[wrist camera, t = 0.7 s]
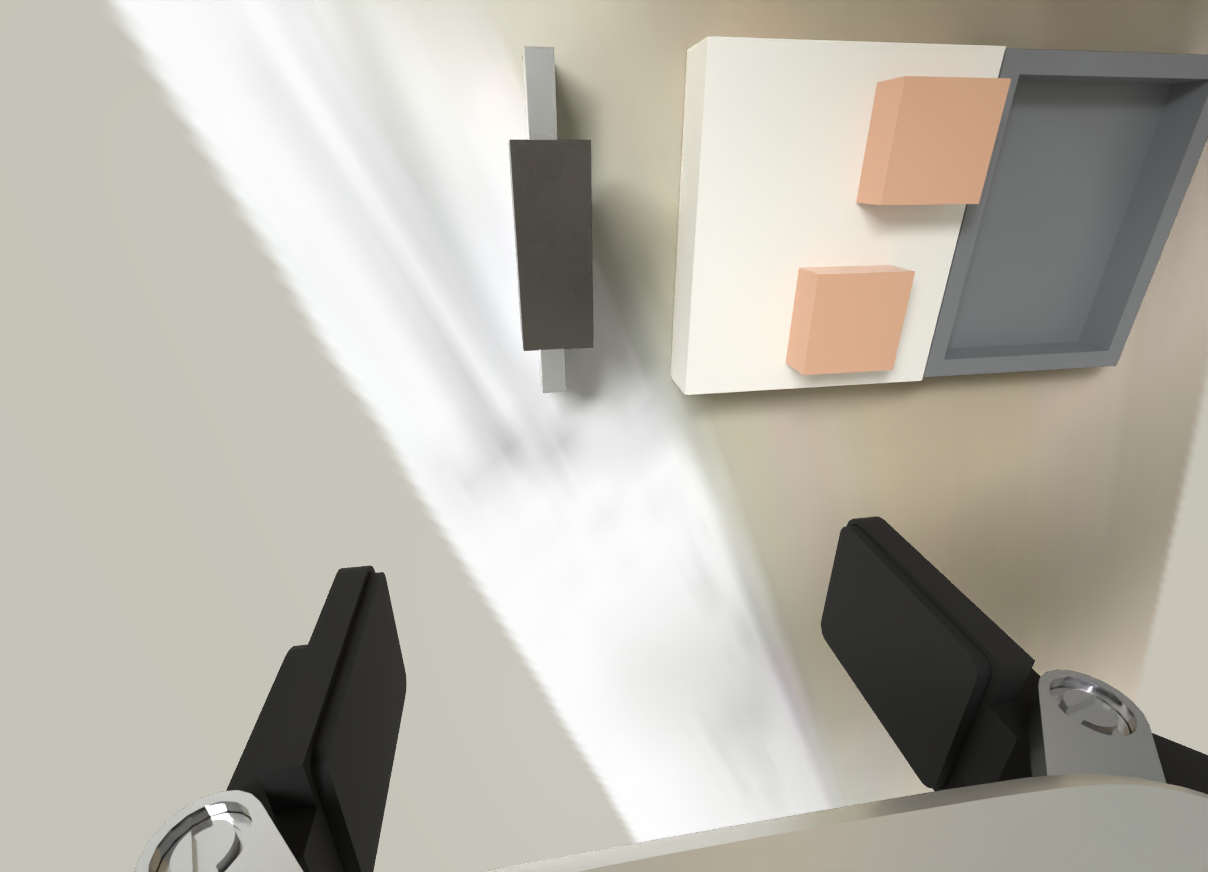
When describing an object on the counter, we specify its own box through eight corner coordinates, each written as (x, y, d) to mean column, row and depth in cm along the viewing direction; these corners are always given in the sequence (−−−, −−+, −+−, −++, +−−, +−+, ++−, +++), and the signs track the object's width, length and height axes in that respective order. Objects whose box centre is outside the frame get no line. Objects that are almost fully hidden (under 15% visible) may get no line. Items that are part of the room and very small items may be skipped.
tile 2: (877, 82, 26) (905, 76, 24) (976, 84, 26) (1011, 78, 25) (856, 202, 28) (880, 204, 26) (948, 201, 28) (978, 204, 27)
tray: (967, 57, 29) (1006, 48, 26) (1186, 63, 30) (1240, 55, 28) (897, 363, 35) (923, 377, 33) (1079, 353, 37) (1116, 365, 35)
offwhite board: (687, 49, 26) (708, 36, 24) (958, 57, 28) (1006, 45, 26) (670, 376, 33) (685, 395, 31) (890, 364, 35) (921, 380, 33)
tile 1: (798, 267, 29) (818, 274, 27) (890, 264, 29) (915, 271, 28) (785, 363, 31) (802, 375, 29) (870, 358, 32) (892, 369, 30)
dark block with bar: (501, 58, 26) (501, 24, 19) (568, 59, 26) (589, 26, 20) (523, 374, 32) (528, 425, 26) (576, 372, 33) (594, 421, 26)
